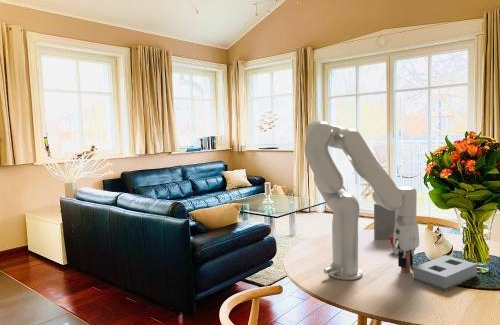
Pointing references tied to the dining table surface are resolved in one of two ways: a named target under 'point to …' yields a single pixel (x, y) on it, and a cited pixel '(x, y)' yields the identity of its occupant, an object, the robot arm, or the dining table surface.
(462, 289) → the dining table surface
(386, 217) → the hip flask
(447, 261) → the hole block
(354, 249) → the robot arm
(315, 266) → the dining table surface
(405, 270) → the pin
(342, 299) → the dining table surface
